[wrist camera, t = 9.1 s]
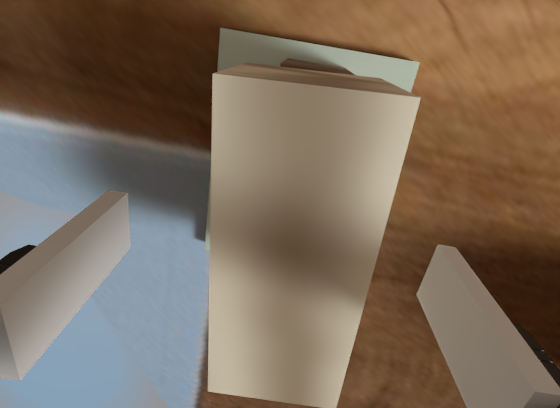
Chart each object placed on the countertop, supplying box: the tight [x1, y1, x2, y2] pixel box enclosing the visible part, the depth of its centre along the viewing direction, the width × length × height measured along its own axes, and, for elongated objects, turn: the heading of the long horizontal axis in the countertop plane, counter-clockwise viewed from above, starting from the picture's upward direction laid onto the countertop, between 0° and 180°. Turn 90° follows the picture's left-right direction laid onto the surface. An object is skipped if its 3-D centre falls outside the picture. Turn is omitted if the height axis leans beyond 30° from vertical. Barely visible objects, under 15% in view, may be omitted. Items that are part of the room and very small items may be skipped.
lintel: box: [208, 63, 421, 408], centre depth 15 cm, size 6×14×6 cm, turn 174°
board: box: [205, 28, 420, 252], centre depth 24 cm, size 12×16×1 cm
